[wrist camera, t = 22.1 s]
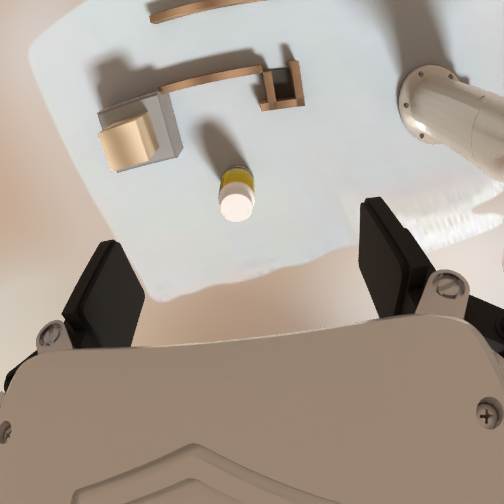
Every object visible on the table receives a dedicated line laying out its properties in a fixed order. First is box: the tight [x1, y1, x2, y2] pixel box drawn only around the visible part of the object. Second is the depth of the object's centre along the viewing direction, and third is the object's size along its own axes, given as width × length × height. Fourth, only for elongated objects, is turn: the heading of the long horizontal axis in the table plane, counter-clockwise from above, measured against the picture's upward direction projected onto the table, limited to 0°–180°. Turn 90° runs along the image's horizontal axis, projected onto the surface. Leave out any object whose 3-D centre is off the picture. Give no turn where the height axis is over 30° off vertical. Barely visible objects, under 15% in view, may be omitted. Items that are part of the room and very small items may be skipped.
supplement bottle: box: [218, 166, 255, 222], centre depth 41 cm, size 5×5×8 cm
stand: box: [97, 90, 183, 173], centre depth 37 cm, size 9×9×4 cm
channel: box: [149, 0, 305, 111], centre depth 32 cm, size 18×16×2 cm
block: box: [98, 111, 159, 172], centre depth 33 cm, size 5×5×5 cm
